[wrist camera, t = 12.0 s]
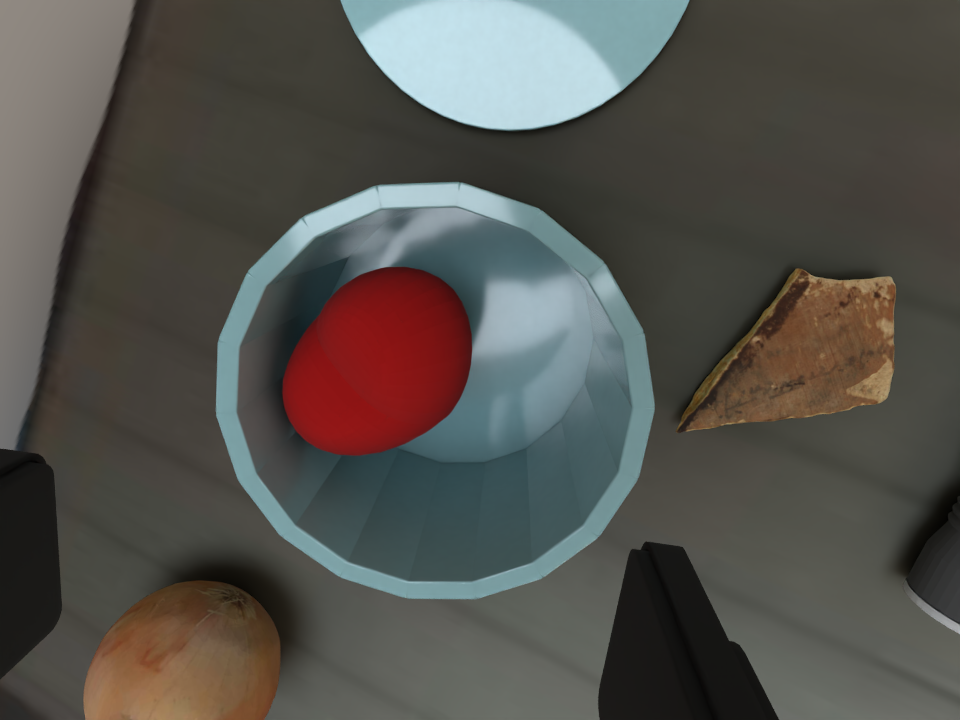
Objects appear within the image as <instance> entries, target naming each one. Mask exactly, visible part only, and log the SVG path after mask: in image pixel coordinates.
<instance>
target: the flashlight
mask: <svg viewBox="0 0 960 720" xmlns="http://www.w3.org/2000/svg"><path fill="white" fill-rule="evenodd" d="M957 501H958V503H955V504H954V505H953V506H952V509H953V511H952V512H950V513H949V514H948V521H947V522H946V523H945V524H944V525H943V526H942V527H941V528H940V529H939V530H938V531H937V532H936V533H935V534H933V535H932V536H931V537H930V538H929V539H928V540H927V542H926V544H925V546H924V547H923V549H922V551H921V553H920V555H919V557H918V558H917V560H916V562H915V564H914V566H913V567H912V569H911V571H910V573H909V575H908V577H907V578H906V580H905V582H904V584H903V589H904V591H905V593H906V594H907V595H908V597H909V598H910V599H911V600H912V601H913V602H914V603H915V604H916V605H918V606H919V607H920V608H921V609H922V610H924V611H925V612H926V613H927V614H929V615H930V616H931V617H933V618H934V619H936V620H937V621H939V622H940V623H942V624H943V625H945V626H947V627H948V628H950V629H952V630H954V631H955V632H957V633H959V634H960V495H959V496H958V497H957Z"/></svg>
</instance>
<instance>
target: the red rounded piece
mask: <svg viewBox="0 0 960 720" xmlns="http://www.w3.org/2000/svg"><path fill="white" fill-rule="evenodd" d="M471 359H472V333H471V328H470V323H469V318H468V315H467V313H466V310H465V308H464V305H463V303H462V301H461V300H460V298H459V297H458V295H457V294H456V292H455V291H454V289H453V288H452V287H450V286H449V285H448V284H447V283H446V282H444V281H443V280H442V279H441V278H439V277H437V276H435V275H433V274H431V273H428V272H426V271H424V270H420V269H415V268H409V267H384V268H379V269H376V270H373V271H370V272H367V273H364V274H361V275H359V276H357V277H355V278H354V279H352V280H351V281H349V282H347V283H346V284H344V285H343V286H342V287H340V288H339V289H338V290H337V291H336V292H335V293H334V294H333V295H332V296H331V298H330V299H329V300H328V301H327V302H326V304H325V305H324V307H323V309H322V311H321V313H320V315H319V316H318V317H317V318H316V319H315V320H314V321H313V322H312V323H311V325H310V326H309V327H308V328H307V330H306V331H305V333H304V334H303V336H302V337H301V339H300V340H299V342H298V343H297V345H296V347H295V349H294V351H293V353H292V355H291V357H290V359H289V362H288V364H287V368H286V371H285V375H284V378H283V388H282V396H283V403H284V408H285V411H286V413H287V416H288V419H289V421H290V422H291V424H292V425H293V427H294V429H295V430H296V432H297V433H298V434H299V435H300V436H301V437H302V438H303V439H304V440H305V441H307V442H308V443H310V444H311V445H313V446H315V447H316V448H318V449H320V450H323V451H327V452H330V453H333V454H338V455H352V456H360V455H366V454H373V453H379V452H383V451H386V450H389V449H392V448H395V447H398V446H401V445H403V444H406V443H408V442H410V441H411V440H413V439H415V438H417V437H419V436H421V435H422V434H424V433H426V432H427V431H429V430H430V429H432V428H433V427H434V426H436V425H437V424H438V423H439V422H441V421H442V420H443V419H445V418H446V417H447V416H448V415H449V414H450V413H451V412H452V411H453V409H454V407H455V406H456V404H457V403H458V401H459V400H460V398H461V396H462V393H463V391H464V388H465V386H466V383H467V380H468V376H469V372H470V367H471Z"/></svg>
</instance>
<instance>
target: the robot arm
mask: <svg viewBox="0 0 960 720" xmlns="http://www.w3.org/2000/svg"><path fill="white" fill-rule="evenodd" d="M61 610H62V601H61V584H60V567H59V550H58V534H57V517H56V500H55V484H54V473H53V470H52V468H51V467H50V466H49V465H47V464H46V461H45V460H44V458H43V457H42V456H40V455H39V454H35V453H28V452H21V451H14V450H7V449H0V679H1V678H2V677H3V676H4V675H5V674H6V673H8V672H9V671H10V670H11V669H12V668H13V667H14V666H15V665H16V664H17V663H18V662H19V661H20V660H21V659H22V658H23V657H25V656H26V655H27V654H28V653H29V652H30V651H31V650H32V649H33V648H34V647H35V646H36V645H37V644H38V643H39V642H40V641H42V640H43V639H44V638H45V637H46V636H47V635H48V634H49V633H50V632H51V631H52V630H53V628H54V627H55V625H56V624H57V622H58V620H59V617H60V614H61ZM598 709H599V717H600V720H779V719H778V717H777V715H776V713H775V711H774V709H773V707H772V705H771V703H770V701H769V699H768V697H767V695H766V693H765V691H764V689H763V687H762V685H761V684H760V682H759V680H758V678H757V676H756V674H755V672H754V670H753V668H752V666H751V664H750V662H749V660H748V658H747V656H746V654H745V652H744V651H743V650H742V648H741V647H740V645H738V644H737V643H735V642H732V641H729V640H728V638H727V636H726V634H725V632H724V630H723V627H722V625H721V623H720V621H719V619H718V617H717V615H716V613H715V611H714V609H713V607H712V605H711V603H710V601H709V599H708V597H707V595H706V593H705V591H704V589H703V586H702V584H701V582H700V580H699V578H698V576H697V574H696V572H695V570H694V568H693V566H692V564H691V562H690V560H689V558H688V556H687V554H686V552H685V550H684V549H683V547H680V546H673V545H666V544H660V543H653V542H645V543H644V544H643V546H642V549H641V550H636V549H632V550H631V551H630V553H629V557H628V561H627V565H626V570H625V574H624V579H623V583H622V588H621V592H620V597H619V601H618V606H617V610H616V615H615V619H614V624H613V628H612V633H611V638H610V642H609V647H608V651H607V656H606V660H605V665H604V669H603V674H602V678H601V683H600V688H599V696H598Z"/></svg>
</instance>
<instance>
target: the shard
mask: <svg viewBox="0 0 960 720" xmlns="http://www.w3.org/2000/svg"><path fill="white" fill-rule="evenodd" d="M895 298H896V285H895V284H894V282H893V280H892V277H889V276H887V277H875V278H871V279H854V280H834V279H825V278H820V277H815V276H812V275H810V274H809V273H808V272H806V271H805V270H803V269H795V271H794V272H793V273H792V274H791V275H790V276H789V277H788V279H787V281H786V283H785V285H784V286H783V288H782V290H781V291H780V293H779V294H778V295H777V297H776V299H775V300H774V301H773V302H772V304H771V305H770V306H769V307H768V308H767V309H766V310H765V311H764V312H763V313H762V315H761V317H760V318H759V320H758V321H757V322H756V324H755V325H754V326H753V327H752V329H751V330H750V331H749V332H748V334H747V335H746V336H745V337H743V338H742V339H741V340H740V341H739V342H738V343H737V344H736V346H735V347H734V348H733V349H732V350H731V351H730V352H729V353H728V354H727V355H726V356H725V357H724V358H723V359H722V360H721V361H720V362H719V363H718V365H717V366H716V367H715V368H714V369H713V371H712V372H711V373H710V374H709V375H708V376H707V378H706V379H705V380H704V382H703V383H702V384H701V386H700V387H699V389H698V390H697V391H696V393H695V394H694V396H693V399H692V401H691V403H690V405H689V406H688V407H687V409H686V410H685V412H684V413H683V415H682V419H681V423H680V424H679V426H678V428H677V430H676V432H677V433H681V432H683V431H691V430H697V429H708V428H713V427H718V426H722V425H725V424H734V423H743V422H755V421H759V422H763V421H775V420H781V419H788V418H803V417H809V416H814V415H817V414H830V413H834V412H839V411H844V410H850V409H851V408H853V407H855V406H860V405H870V404H878V403H881V402H882V401H884V400H885V399H887V397H888V393H889V391H890V383H891V379H892V375H893V372H894V343H893V337H894V305H895Z"/></svg>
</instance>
